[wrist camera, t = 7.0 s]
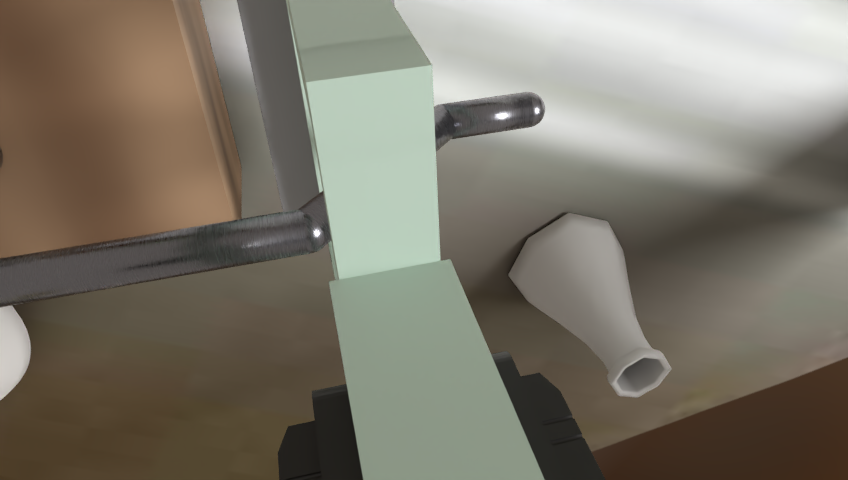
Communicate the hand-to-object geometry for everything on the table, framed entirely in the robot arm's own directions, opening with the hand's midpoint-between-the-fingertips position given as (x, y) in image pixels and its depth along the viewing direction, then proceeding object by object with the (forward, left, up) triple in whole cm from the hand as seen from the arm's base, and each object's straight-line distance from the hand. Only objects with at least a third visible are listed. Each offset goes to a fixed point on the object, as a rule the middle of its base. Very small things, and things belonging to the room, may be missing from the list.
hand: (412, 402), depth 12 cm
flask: (-14, +16, -22) cm, 30 cm away
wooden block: (+9, 0, -21) cm, 23 cm away
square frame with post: (0, 0, -15) cm, 15 cm away
